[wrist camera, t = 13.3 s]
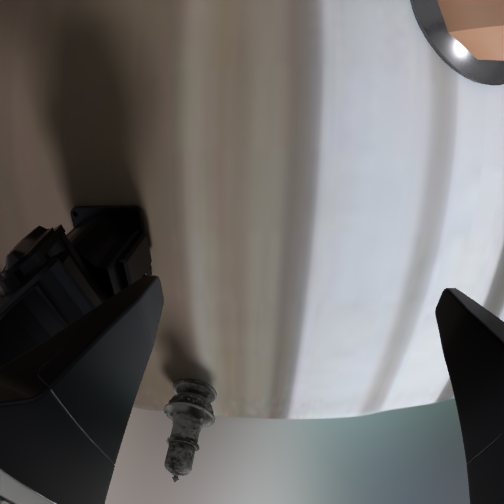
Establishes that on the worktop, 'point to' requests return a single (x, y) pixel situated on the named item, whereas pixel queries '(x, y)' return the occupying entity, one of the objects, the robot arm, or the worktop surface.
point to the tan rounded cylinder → (476, 26)
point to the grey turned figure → (187, 423)
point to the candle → (454, 46)
